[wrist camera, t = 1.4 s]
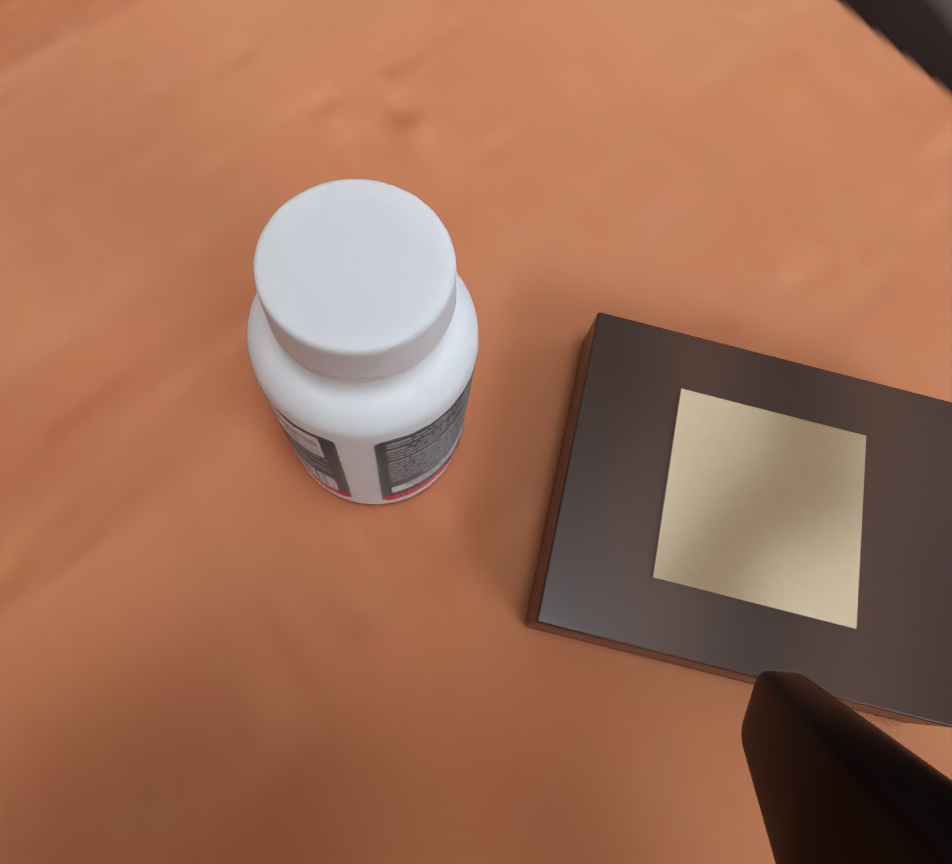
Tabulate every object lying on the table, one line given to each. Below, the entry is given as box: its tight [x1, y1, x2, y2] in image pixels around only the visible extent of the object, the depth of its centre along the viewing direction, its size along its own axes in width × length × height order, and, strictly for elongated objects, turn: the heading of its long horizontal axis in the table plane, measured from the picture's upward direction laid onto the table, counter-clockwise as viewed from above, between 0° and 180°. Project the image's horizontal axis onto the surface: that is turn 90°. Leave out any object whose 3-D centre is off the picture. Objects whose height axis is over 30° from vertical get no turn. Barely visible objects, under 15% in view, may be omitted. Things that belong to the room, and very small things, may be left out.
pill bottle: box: [247, 179, 478, 504], centre depth 18 cm, size 5×5×10 cm
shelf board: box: [526, 313, 952, 727], centre depth 22 cm, size 12×10×2 cm
